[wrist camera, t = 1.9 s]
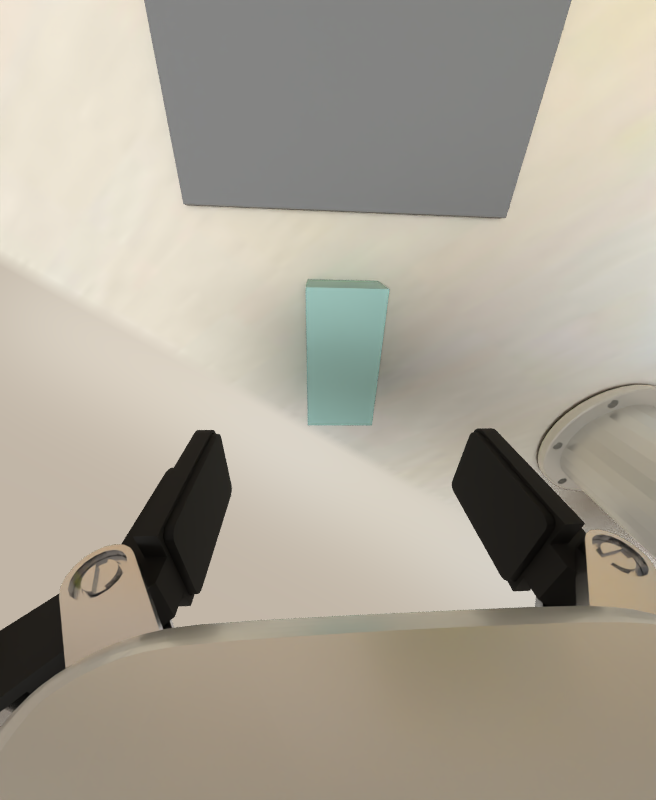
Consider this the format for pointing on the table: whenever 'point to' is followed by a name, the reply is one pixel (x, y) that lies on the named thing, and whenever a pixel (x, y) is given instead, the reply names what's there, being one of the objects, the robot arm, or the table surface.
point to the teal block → (343, 349)
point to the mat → (353, 100)
